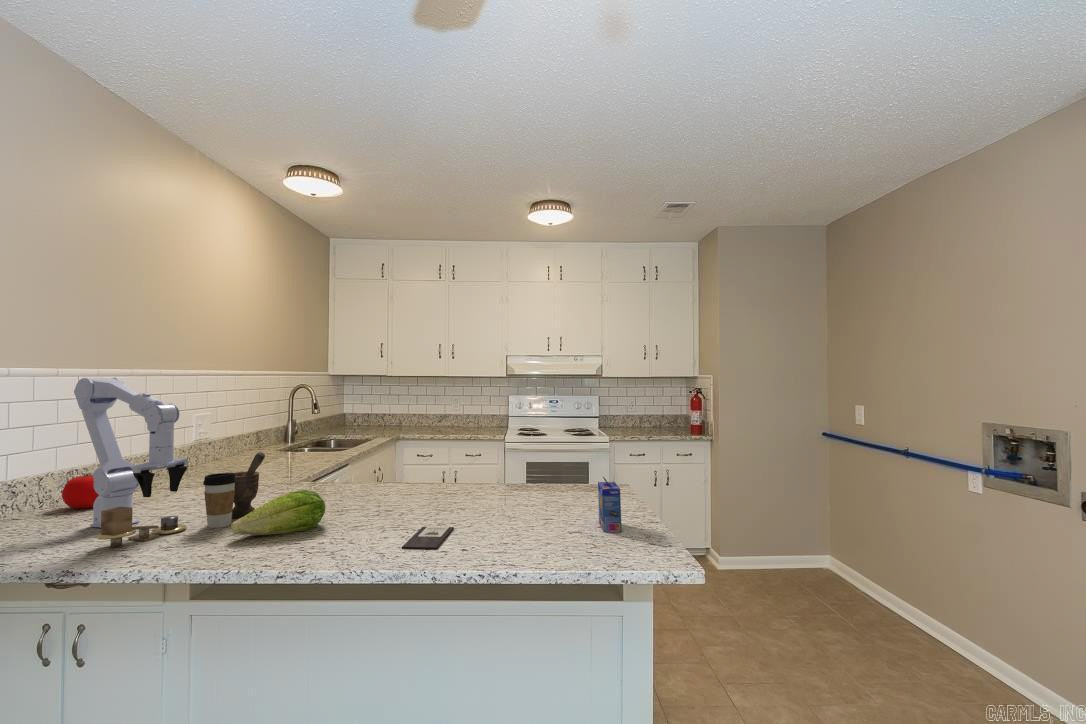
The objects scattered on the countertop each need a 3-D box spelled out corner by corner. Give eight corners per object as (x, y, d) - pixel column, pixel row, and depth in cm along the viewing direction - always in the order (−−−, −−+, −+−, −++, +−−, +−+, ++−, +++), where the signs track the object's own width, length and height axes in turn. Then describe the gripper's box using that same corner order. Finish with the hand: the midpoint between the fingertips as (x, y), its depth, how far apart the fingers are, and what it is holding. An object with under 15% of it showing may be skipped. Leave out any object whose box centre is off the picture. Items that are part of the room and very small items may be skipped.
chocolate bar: (401, 546, 135) (422, 526, 153) (401, 550, 135) (422, 529, 153) (436, 547, 135) (453, 527, 153) (436, 551, 135) (453, 530, 153)
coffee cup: (220, 530, 152) (221, 476, 152) (195, 528, 153) (195, 475, 154) (242, 522, 160) (243, 471, 160) (218, 520, 162) (219, 470, 162)
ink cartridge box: (597, 522, 159) (597, 473, 159) (615, 522, 159) (615, 473, 160) (602, 532, 149) (602, 480, 150) (622, 532, 149) (621, 480, 150)
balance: (88, 549, 135) (88, 533, 135) (172, 526, 156) (172, 512, 156) (110, 552, 132) (110, 536, 132) (193, 528, 153) (193, 514, 153)
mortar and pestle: (273, 511, 172) (273, 449, 173) (260, 518, 164) (261, 453, 164) (235, 512, 171) (236, 449, 172) (221, 519, 163) (222, 453, 163)
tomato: (51, 511, 173) (52, 476, 173) (92, 501, 186) (92, 469, 186) (82, 512, 171) (83, 478, 171) (121, 503, 184) (122, 470, 184)
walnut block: (100, 534, 136) (101, 510, 136) (119, 529, 140) (119, 506, 140) (113, 535, 135) (114, 511, 135) (132, 530, 139) (132, 507, 139)
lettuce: (220, 517, 147) (231, 495, 140) (309, 496, 165) (323, 477, 158) (231, 558, 142) (243, 538, 135) (321, 532, 160) (336, 513, 153)
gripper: (145, 450, 145) (144, 500, 145) (195, 444, 159) (194, 490, 159) (127, 449, 148) (126, 498, 147) (178, 442, 161) (177, 488, 161)
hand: (160, 494), depth 153 cm, fingers open, 7 cm apart
